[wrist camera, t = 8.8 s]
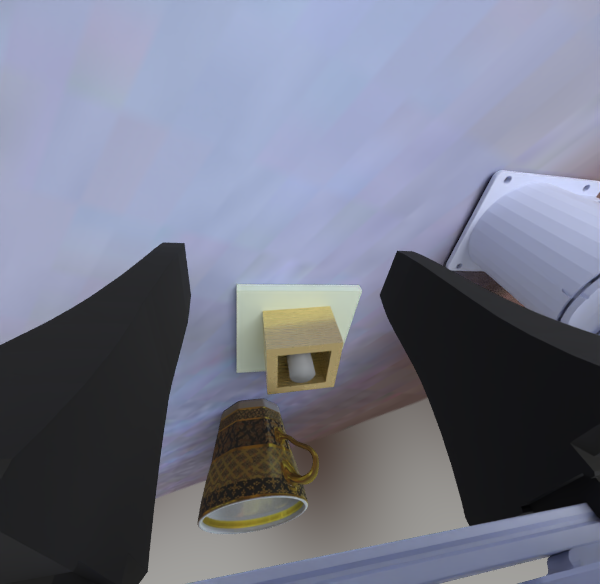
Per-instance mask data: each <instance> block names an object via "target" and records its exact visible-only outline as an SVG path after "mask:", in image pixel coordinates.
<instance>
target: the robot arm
mask: <svg viewBox="0 0 600 584" xmlns="http://www.w3.org/2000/svg"><path fill="white" fill-rule="evenodd" d="M506 177H507V179H506V180H505V178H506ZM504 180H505V181H504ZM599 192H600V181H595V180H586V179H577V178H568V177H559V176H550V175H541V174H532V173H524V172H515V171H506V170H499V171H497V172H496V173H495V174H494V175H493V176H492V178H491V180H490V182H489V184H488V186H487V188H486V189H485V191H484V193H483V195H482V197H481V199H480V201H479V203H478V205H477V206H476V208H475V210H474V212H473V214H472V216H471V218H470V220H469V222H468V224H467V225H466V227H465V229H464V231H463V233H462V235H461V237H460V239H459V241H458V242H457V244H456V246H455V248H454V250H453V252H452V254H451V256H450V258H449V259H448V261H447V263H446V267H444V266H442V265H440V264H438V263H436V262H434V261H432V260H430V259H429V258H427V257H424V256H422V255H420V254H418V253H415V252H412V251H397V253H396V255H395V258H394V260H393V263H392V265H391V268H390V270H389V273H388V276H387V278H386V281H385V283H384V286H383V288H382V291H381V293H380V297H381V300H382V304H383V307H384V309H385V312H386V315H387V317H388V319H389V321H390V323H391V325H392V327H393V329H394V331H395V333H396V335H397V337H398V338H399V340H400V342H401V344H402V346H403V348H404V349H405V351H406V353H407V355H408V357H409V359H410V360H411V362H412V364H413V366H414V368H415V370H416V372H417V374H418V376H419V378H420V380H421V382H422V385H423V387H424V390H425V392H426V395H427V397H428V399H429V402H430V404H431V407H432V410H433V412H434V415H435V418H436V420H437V423H438V426H439V429H440V431H441V434H442V437H443V440H444V443H445V447H446V450H447V453H448V456H449V459H450V462H451V465H452V469H453V472H454V476H455V479H456V483H457V486H458V490H459V494H460V497H461V501H462V505H463V509H464V514H465V518H466V520H467V522H468V524H469V527H464V528H459V529H454V530H450V531H444V532H439V533H434V534H429V535H424V536H419V537H415V538H409V539H404V540H399V541H395V542H390V543H385V544H380V545H375V546H370V547H365V548H360V549H355V550H350V551H345V552H341V553H335V554H330V555H325V556H321V557H316V558H311V559H306V560H301V561H296V562H291V563H286V564H281V565H276V566H271V567H266V568H261V569H257V570H252V571H247V572H242V573H237V574H232V575H227V576H222V577H217V578H212V579H207V580H202V581H197V582H192V583H188V584H440V583H444V582H448V581H451V580H456V579H460V578H464V577H468V576H472V575H476V574H480V573H484V572H488V571H492V570H496V569H500V568H505V567H508V566H513V565H516V564H521V563H525V562H529V561H533V560H537V559H541V558H545V557H549V556H550V557H549V558H548V561H547V565H548V574H547V575H546V576H543V577H540V578H536V579H533V580H529V581H525V582H522V583H518V584H600V199H599V198H596V196H597V195H598V193H599ZM453 271H484V272H486V273H487V274H488V275H489V276H490V277H491V278H493V279H494V280H495V281H496V282H497V283H498V284H499V285H501V286H502V287H503V288H504V289H505V290H506V291H508V292H509V293H510V294H511V295H512V296H513V297H514V298H516V299H517V300H518V301H519V302H520V303H521V304H523V305H524V306H525V307H526V308H525V307H522V306H520V305H518V304H515V303H513V302H511V301H509V300H507V299H505V298H503V297H501V296H499V295H497V294H495V293H493V292H491V291H489V290H487V289H485V288H483V287H481V286H479V285H477V284H475V283H473V282H471V281H469V280H467V279H466V278H464V277H462V276H460V275H458V274H456V273H455V272H453ZM190 299H191V292H190V284H189V276H188V268H187V260H186V252H185V244H184V243H162V244H160V245H159V246H158V247H156V248H155V249H154V250H153V251H151V252H150V253H149V254H148V255H146V256H145V257H144V258H143V259H142V260H140V261H139V262H138V263H136V264H135V265H134V266H133V267H131V268H130V269H129V270H127V271H126V272H125V273H124V274H122V275H121V276H120V277H118V278H117V279H115V280H114V281H112V282H111V283H110V284H108V285H107V286H105V287H104V288H102V289H101V290H99V291H98V292H97V293H95V294H94V295H92V296H91V297H89V298H88V299H86V300H84V301H83V302H81V303H80V304H78V305H76V306H75V307H73V308H71V309H69V310H68V311H66V312H64V313H62V314H61V315H59V316H57V317H55V318H54V319H52V320H50V321H48V322H46V323H44V324H42V325H40V326H38V327H36V328H34V329H32V330H30V331H28V332H26V333H24V334H22V335H20V336H18V337H16V338H14V339H12V340H10V341H8V342H6V343H4V344H2V345H0V584H139V583H140V581H141V580H142V579H143V577H144V576H145V574H146V573H147V572H148V562H149V551H150V542H151V532H152V523H153V513H154V504H155V496H156V488H157V479H158V471H159V463H160V456H161V448H162V441H163V433H164V426H165V420H166V413H167V406H168V400H169V394H170V390H171V385H172V381H173V377H174V373H175V369H176V366H177V362H178V358H179V354H180V350H181V347H182V343H183V339H184V335H185V331H186V327H187V323H188V316H189V308H190Z"/></svg>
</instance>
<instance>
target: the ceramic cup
mask: <svg viewBox="0 0 600 584" xmlns="http://www.w3.org/2000/svg"><path fill="white" fill-rule="evenodd" d="M288 440H289V441H290V442H291V443H293V444H294V445H296V446H298V447H301V448H303V449H306V450H308V451H309V452H310V453H311V455H312V458H313V465H312V468H311V470H310V472H309V473H307V474H306V475H304V476H301V475H300V474H299V471H298V468H297V465H296V462H295V459H294V457H293V454H292V452H291V448H290V445H289V442H288ZM318 467H319V461H318V456H317V454H316V452H315V451H314V449H313V448H311V447H310V446H308V445H306V444H303V443H301V442H298V441H296V440H295V439H294V438H292V437H291V436H289V435H286V432H285V429H284V426H283V422H282V418H281V415H280V411H279V407H278V406H277V405H276V404H274V403H272V402H270V401H267V400H265V399H254V400H244V401H239V402H237V403H236V404H234V405H233V406H231V407H230V408H228V409H227V410H225V411H224V412H223V414H222V417H221V421H220V426H219V431H218V435H217V439H216V444H215V448H214V453H213V458H212V463H211V466H210V469H209V473H208V476H207V480H206V484H205V488H204V492H203V497H202V501H201V506H200V512H199V518H198V526H199V528H200V529H202V530H204V531H206V532H210V533H216V534H237V533H247V532H253V531H258V530H263V529H267V528H271V527H274V526H277V525H280V524H283V523H286V522H288V521H290V520H292V519H294V518H296V517H298V516H299V515H301V514H302V513H303V512H304V511H305V510H306V509H307V507H308V502H307V498H306V494H305V490H304V487H303V484H309V483H311V482H312V481H313V480H314V479H315V478H316V476H317V473H318Z"/></svg>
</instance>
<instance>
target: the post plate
mask: <svg viewBox="0 0 600 584" xmlns="http://www.w3.org/2000/svg"><path fill="white" fill-rule="evenodd" d="M361 293H362V290H361V288H360V286H359V285H281V284H237V373H243V372H261V371H265V360H264V338H263V311H268V310H282V309H296V308H310V307H324V306H330V307H331V310H332V312H333V315H334V318H335V320H336V323H337V326H338V328H339V331H340V334H341V336H342V339H343V342H344V343H345V340H346V337H347V334H348V331H349V328H350V325H351V322H352V319H353V316H354V313H355V310H356V307H357V305H358V302H359V299H360V296H361ZM343 346H344V344H343ZM342 349H343V348H342ZM286 356H287V362H288V369H289V375H290V379H291V380H292V381H293V382H296V383H303V382H307V381H309V380H311V379H312V378H313V377H314V376H315V369H314V365H313V361H312V357H311V353H303V354H292V355H286Z"/></svg>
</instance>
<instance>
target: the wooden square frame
mask: <svg viewBox="0 0 600 584" xmlns="http://www.w3.org/2000/svg"><path fill="white" fill-rule="evenodd" d="M263 338H264V360H265V371H266V382H267V394H276V393H285V392H293V391H302V390H310V389H318V388H327V387H334V384H335V379H336V375H337V370H338V366H339V361H340V357H341V352H342V348H343V344H344V342H343V339H342V336H341V334H340V331H339V328H338V326H337V323H336V320H335V318H334V315H333V312H332V310H331V307H330V306H324V307H310V308H296V309H282V310H268V311H263ZM303 353H311V357H312V361H313V365H314V369H315V376H314V377H313V378H312V379H311V380H309V381H307V382H303V383H296V382H293V381H292V380H291V379H290V375H289V369H288V362H287V356H286V355H292V354H303Z"/></svg>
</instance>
